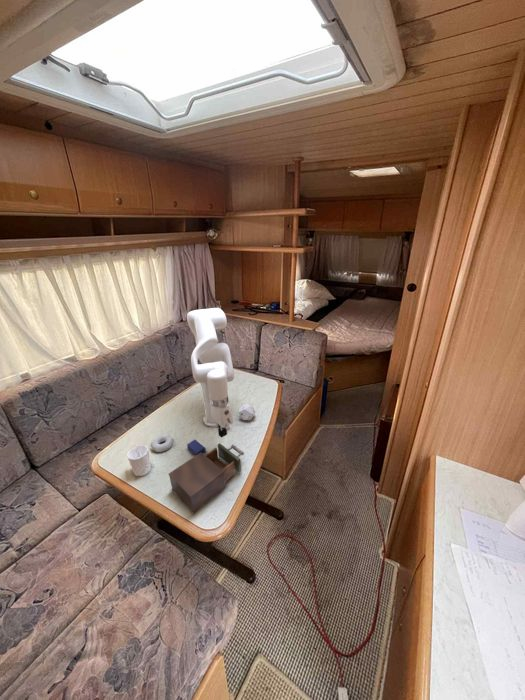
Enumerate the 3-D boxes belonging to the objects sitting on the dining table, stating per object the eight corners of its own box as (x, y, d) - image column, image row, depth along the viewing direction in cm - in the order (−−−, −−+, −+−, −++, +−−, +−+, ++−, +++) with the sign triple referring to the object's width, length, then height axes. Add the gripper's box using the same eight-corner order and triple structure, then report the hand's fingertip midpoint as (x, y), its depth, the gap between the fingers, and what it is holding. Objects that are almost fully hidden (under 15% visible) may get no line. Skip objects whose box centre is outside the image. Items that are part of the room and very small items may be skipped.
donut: (164, 455, 124) (177, 440, 132) (163, 450, 122) (176, 435, 131) (147, 451, 127) (160, 436, 136) (145, 445, 126) (159, 431, 134)
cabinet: (203, 467, 117) (201, 452, 113) (225, 487, 107) (223, 471, 104) (172, 489, 107) (168, 473, 104) (193, 514, 98) (190, 497, 94)
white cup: (140, 480, 112) (135, 462, 108) (128, 472, 116) (123, 454, 112) (156, 467, 118) (151, 449, 114) (144, 460, 122) (140, 442, 118)
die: (237, 415, 150) (233, 410, 142) (248, 403, 153) (245, 397, 144) (247, 426, 147) (244, 421, 138) (259, 413, 149) (256, 408, 141)
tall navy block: (187, 449, 127) (186, 444, 126) (195, 444, 130) (195, 439, 129) (197, 458, 122) (196, 452, 121) (205, 452, 125) (205, 447, 124)
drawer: (229, 449, 125) (228, 437, 122) (249, 464, 116) (249, 452, 114) (195, 473, 113) (192, 460, 110) (215, 492, 104) (213, 479, 102)
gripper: (237, 403, 106) (240, 440, 113) (217, 388, 116) (221, 422, 124) (221, 411, 102) (225, 449, 109) (201, 395, 112) (206, 430, 120)
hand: (223, 435), depth 116 cm, fingers closed
